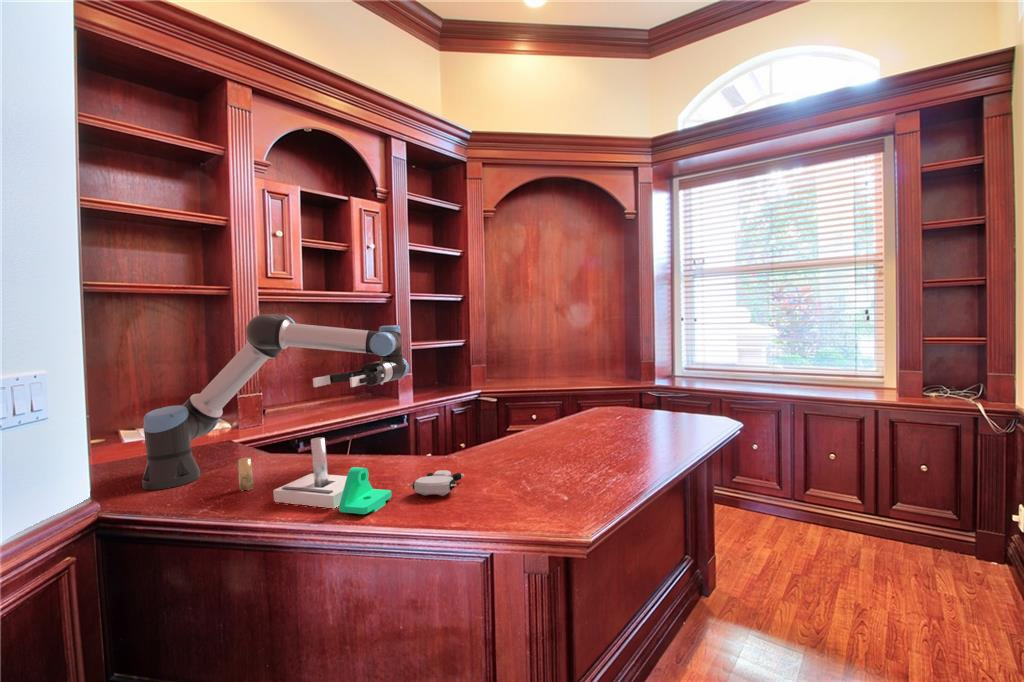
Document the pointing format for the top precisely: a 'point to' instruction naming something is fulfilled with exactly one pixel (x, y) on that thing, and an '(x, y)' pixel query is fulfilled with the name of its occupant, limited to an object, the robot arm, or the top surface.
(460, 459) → the top surface
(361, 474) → the camera mount
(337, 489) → the hole plate
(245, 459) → the short pin
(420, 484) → the robot toy
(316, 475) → the long pin
